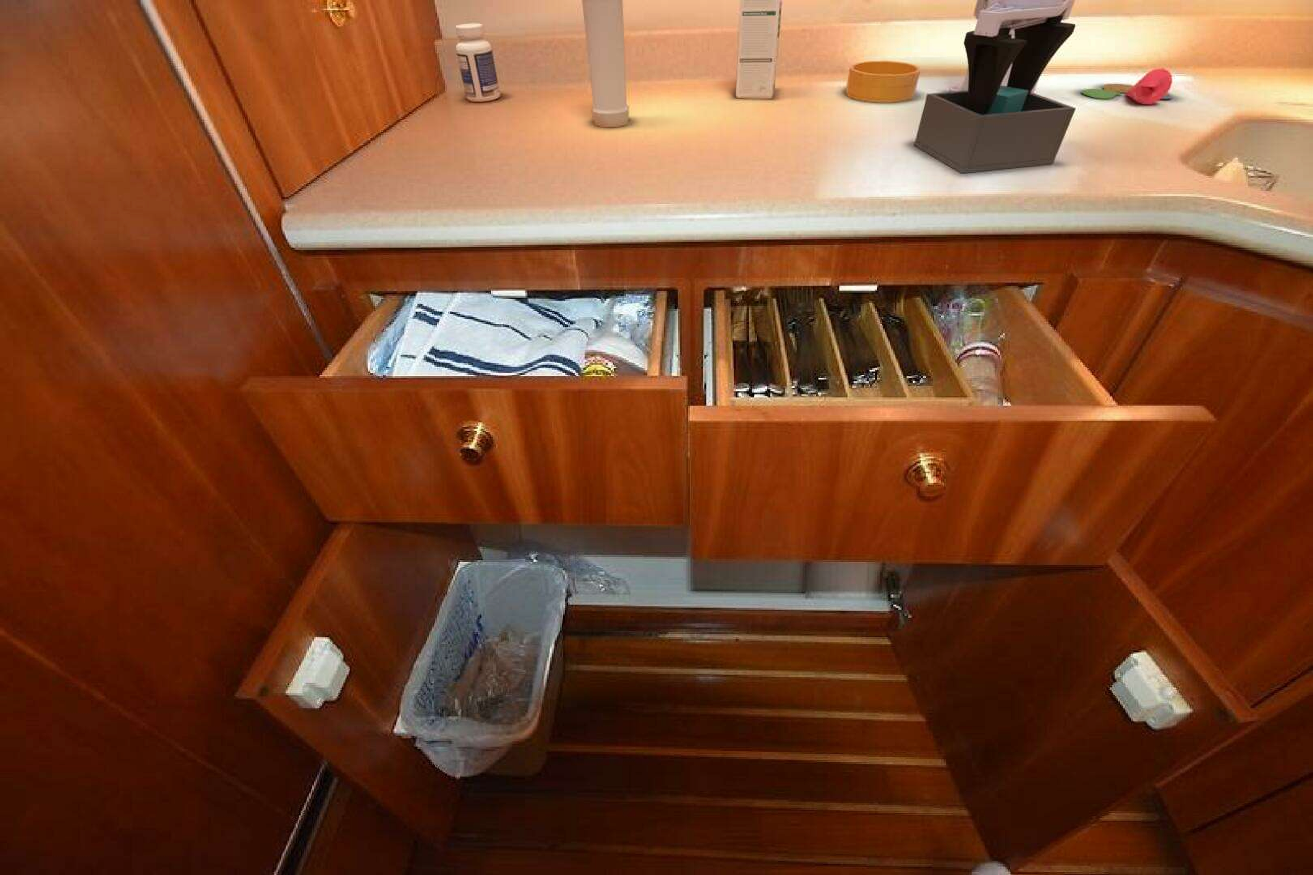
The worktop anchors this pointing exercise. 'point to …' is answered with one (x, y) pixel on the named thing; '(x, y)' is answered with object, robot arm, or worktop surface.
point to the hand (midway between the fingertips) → (996, 105)
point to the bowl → (882, 81)
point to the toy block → (1008, 100)
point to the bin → (991, 133)
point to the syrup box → (757, 48)
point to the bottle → (606, 61)
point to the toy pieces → (1138, 88)
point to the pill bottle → (476, 64)
